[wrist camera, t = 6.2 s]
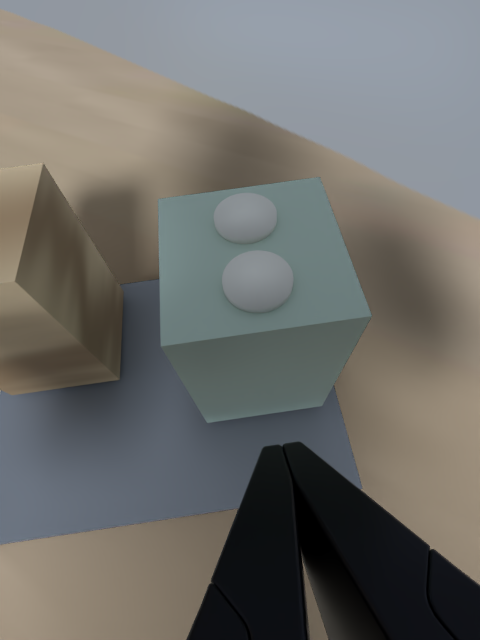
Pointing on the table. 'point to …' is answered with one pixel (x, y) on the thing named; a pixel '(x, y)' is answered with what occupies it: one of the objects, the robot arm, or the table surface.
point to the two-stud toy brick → (257, 297)
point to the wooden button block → (52, 291)
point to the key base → (139, 443)
